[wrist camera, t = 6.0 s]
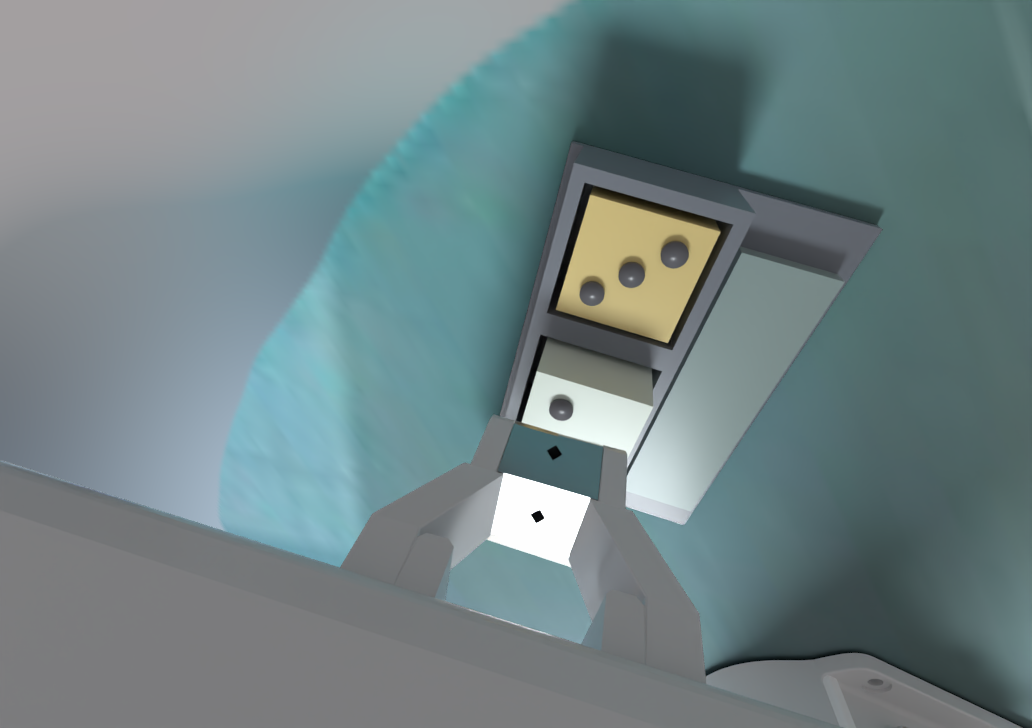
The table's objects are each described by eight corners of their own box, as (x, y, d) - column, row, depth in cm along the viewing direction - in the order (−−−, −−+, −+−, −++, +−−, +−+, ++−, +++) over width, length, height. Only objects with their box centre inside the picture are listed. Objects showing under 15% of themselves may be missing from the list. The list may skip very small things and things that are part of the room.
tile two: (651, 356, 20) (653, 410, 17) (616, 431, 23) (613, 490, 20) (550, 326, 21) (535, 374, 17) (527, 404, 23) (510, 457, 20)
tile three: (707, 204, 19) (721, 233, 16) (663, 303, 21) (668, 345, 18) (597, 173, 19) (589, 196, 16) (566, 275, 21) (554, 312, 18)
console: (877, 225, 18) (930, 262, 15) (683, 518, 28) (689, 579, 25) (572, 140, 19) (559, 158, 16) (489, 456, 29) (470, 508, 26)
